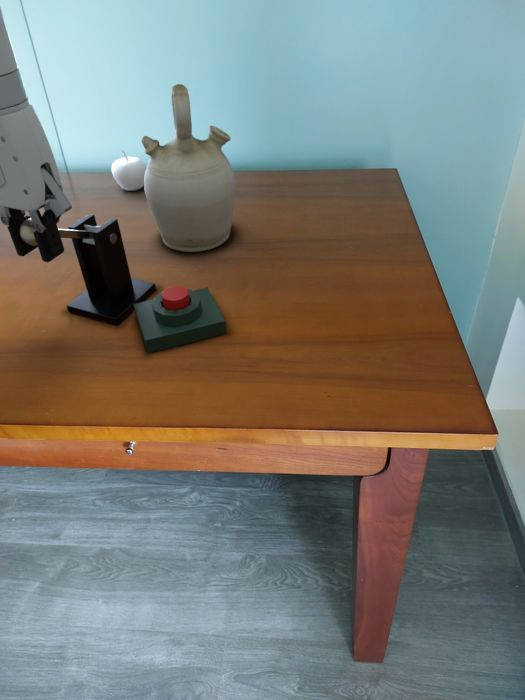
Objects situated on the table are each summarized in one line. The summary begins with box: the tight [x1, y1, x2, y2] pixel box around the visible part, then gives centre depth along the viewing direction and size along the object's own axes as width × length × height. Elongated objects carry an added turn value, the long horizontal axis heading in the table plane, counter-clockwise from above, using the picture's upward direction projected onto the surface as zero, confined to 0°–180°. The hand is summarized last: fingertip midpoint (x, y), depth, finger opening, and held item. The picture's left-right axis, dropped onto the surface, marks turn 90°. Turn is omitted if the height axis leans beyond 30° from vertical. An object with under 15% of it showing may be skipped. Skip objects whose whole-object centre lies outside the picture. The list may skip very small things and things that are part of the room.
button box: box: [134, 287, 227, 354], centre depth 73 cm, size 11×9×4 cm
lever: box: [20, 217, 101, 246], centre depth 68 cm, size 14×3×3 cm, turn 155°
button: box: [161, 285, 190, 311], centre depth 72 cm, size 4×4×2 cm
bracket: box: [66, 213, 157, 326], centre depth 76 cm, size 10×9×13 cm
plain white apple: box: [111, 149, 147, 192], centre depth 110 cm, size 7×7×8 cm
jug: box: [141, 83, 236, 253], centre depth 87 cm, size 15×16×25 cm
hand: (41, 252), depth 65 cm, fingers closed on lever, 3 cm apart
